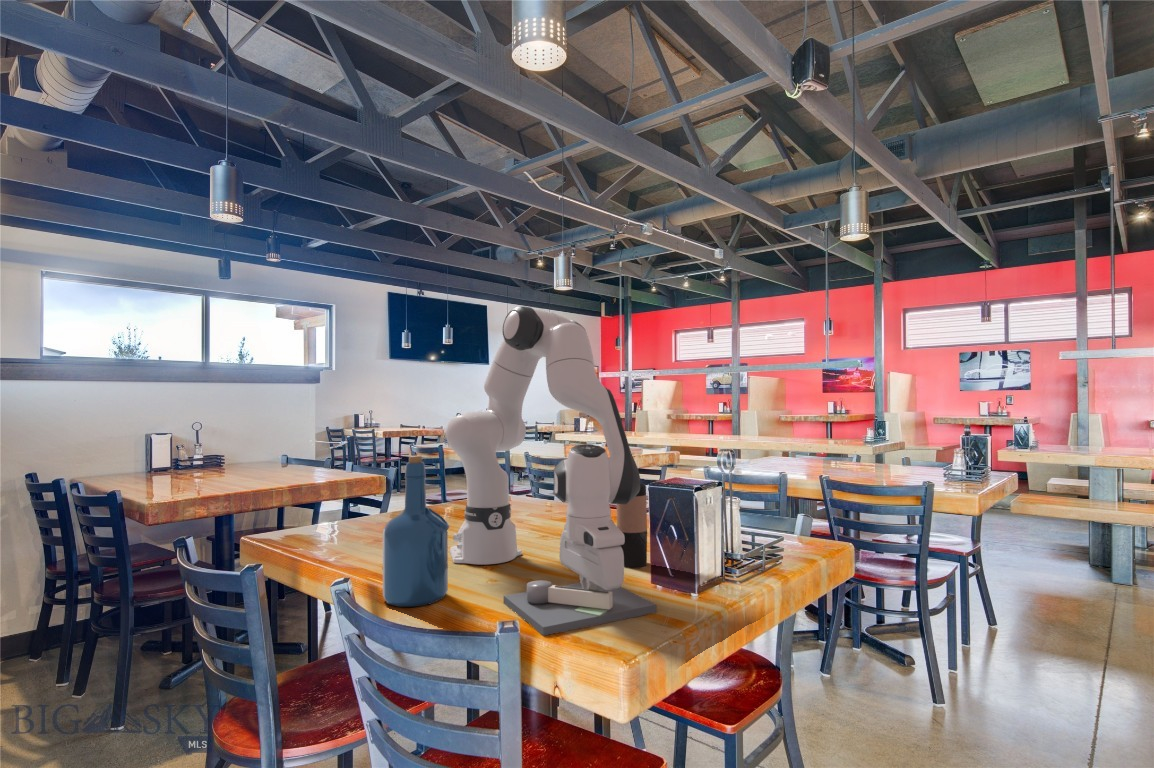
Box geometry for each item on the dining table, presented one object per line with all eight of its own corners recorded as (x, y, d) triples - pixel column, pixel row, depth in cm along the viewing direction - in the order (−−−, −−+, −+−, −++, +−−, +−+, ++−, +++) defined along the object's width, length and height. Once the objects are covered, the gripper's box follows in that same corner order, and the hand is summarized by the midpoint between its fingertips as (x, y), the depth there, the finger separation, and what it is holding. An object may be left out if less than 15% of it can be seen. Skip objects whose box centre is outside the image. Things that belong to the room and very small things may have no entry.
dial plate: (503, 602, 121) (503, 594, 121) (604, 585, 132) (604, 577, 132) (543, 636, 103) (543, 626, 103) (657, 612, 114) (656, 603, 114)
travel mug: (636, 558, 154) (635, 482, 155) (653, 565, 148) (652, 485, 149) (611, 562, 151) (610, 484, 152) (628, 569, 144) (626, 487, 145)
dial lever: (533, 594, 120) (533, 579, 120) (615, 603, 114) (615, 588, 114) (522, 601, 116) (522, 586, 116) (606, 612, 109) (606, 596, 109)
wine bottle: (379, 611, 117) (379, 459, 118) (386, 591, 130) (386, 454, 131) (449, 605, 120) (449, 457, 121) (449, 586, 132) (449, 452, 134)
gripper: (551, 520, 124) (552, 586, 123) (600, 541, 105) (600, 619, 105) (578, 517, 127) (579, 581, 126) (629, 537, 108) (630, 613, 108)
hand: (589, 599), depth 116 cm, fingers closed
